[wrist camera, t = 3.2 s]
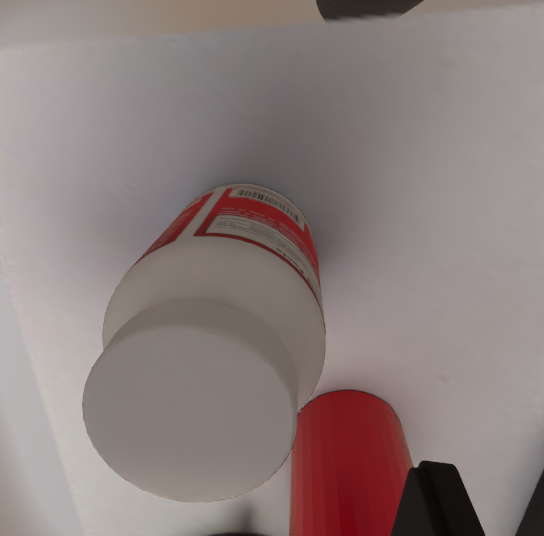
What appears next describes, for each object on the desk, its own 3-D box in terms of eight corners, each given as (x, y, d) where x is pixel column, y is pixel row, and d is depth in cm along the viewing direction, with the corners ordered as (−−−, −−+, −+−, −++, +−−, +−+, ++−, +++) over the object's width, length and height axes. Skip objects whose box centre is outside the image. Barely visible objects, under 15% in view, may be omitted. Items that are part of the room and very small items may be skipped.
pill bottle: (194, 324, 22) (99, 540, 12) (156, 196, 20) (-3, 319, 9) (328, 303, 21) (353, 513, 11) (303, 166, 19) (304, 266, 9)
